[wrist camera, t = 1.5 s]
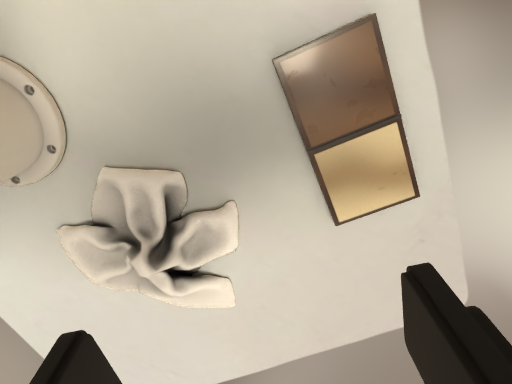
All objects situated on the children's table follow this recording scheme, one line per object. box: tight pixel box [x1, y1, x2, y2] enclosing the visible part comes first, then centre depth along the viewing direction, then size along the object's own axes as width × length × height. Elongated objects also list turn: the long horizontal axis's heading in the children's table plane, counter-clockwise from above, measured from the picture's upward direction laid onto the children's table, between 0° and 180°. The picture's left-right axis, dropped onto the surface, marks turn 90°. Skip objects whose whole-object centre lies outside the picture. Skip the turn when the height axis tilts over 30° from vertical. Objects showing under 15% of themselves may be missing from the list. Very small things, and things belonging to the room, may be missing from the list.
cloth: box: [56, 167, 238, 308], centre depth 35 cm, size 22×19×6 cm
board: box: [272, 13, 420, 226], centre depth 31 cm, size 18×9×1 cm, turn 23°
